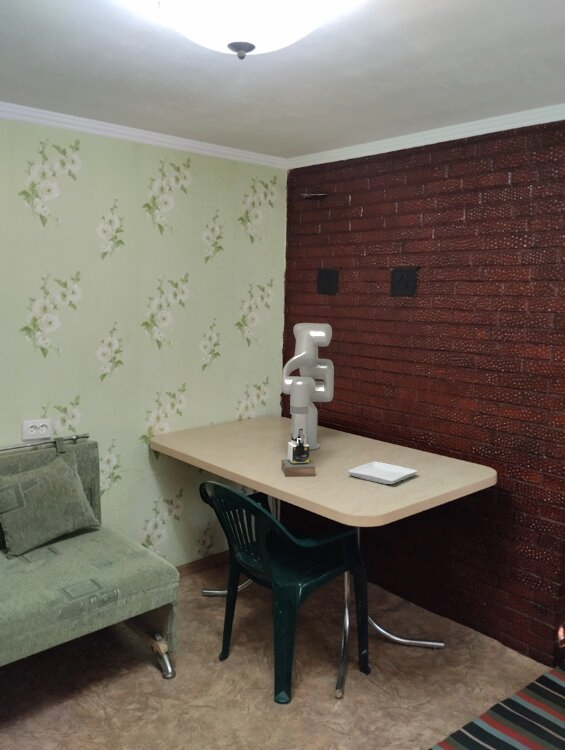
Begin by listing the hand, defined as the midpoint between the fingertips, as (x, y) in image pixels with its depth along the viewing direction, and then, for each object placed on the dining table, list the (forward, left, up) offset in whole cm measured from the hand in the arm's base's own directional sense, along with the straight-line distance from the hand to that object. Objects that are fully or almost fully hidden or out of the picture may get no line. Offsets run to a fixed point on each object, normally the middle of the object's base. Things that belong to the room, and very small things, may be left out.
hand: (298, 452), depth 260 cm
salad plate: (+9, +33, -9) cm, 35 cm away
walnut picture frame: (0, 0, -8) cm, 8 cm away
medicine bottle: (0, 0, -4) cm, 4 cm away
